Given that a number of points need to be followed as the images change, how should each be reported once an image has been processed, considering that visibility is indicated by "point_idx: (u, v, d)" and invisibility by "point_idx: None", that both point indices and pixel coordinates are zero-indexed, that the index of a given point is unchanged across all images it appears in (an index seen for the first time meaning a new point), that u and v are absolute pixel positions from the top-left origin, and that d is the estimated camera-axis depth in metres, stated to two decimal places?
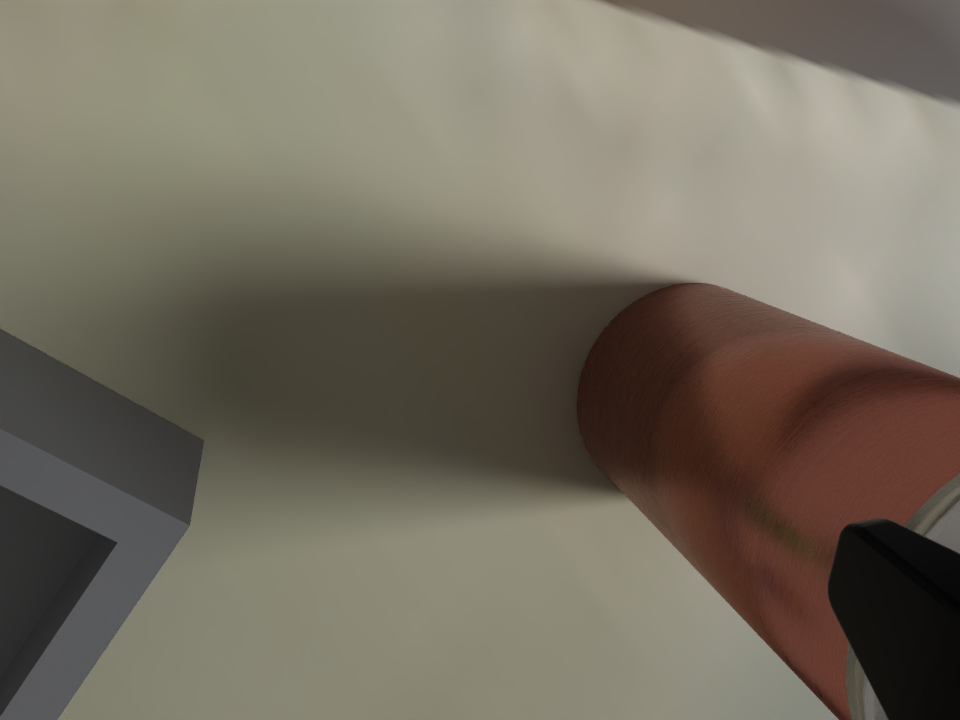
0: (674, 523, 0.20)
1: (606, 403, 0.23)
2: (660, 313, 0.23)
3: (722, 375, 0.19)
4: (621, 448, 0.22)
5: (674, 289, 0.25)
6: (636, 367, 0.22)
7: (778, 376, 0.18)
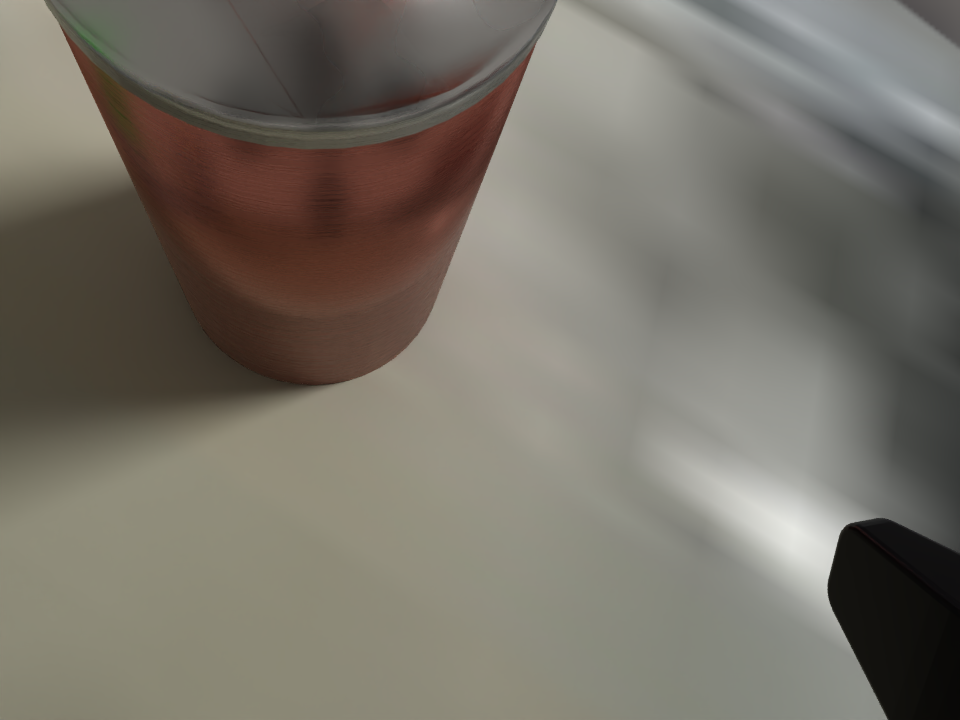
0: (163, 237, 0.16)
1: None
2: None
3: None
4: (170, 262, 0.19)
5: None
6: None
7: None
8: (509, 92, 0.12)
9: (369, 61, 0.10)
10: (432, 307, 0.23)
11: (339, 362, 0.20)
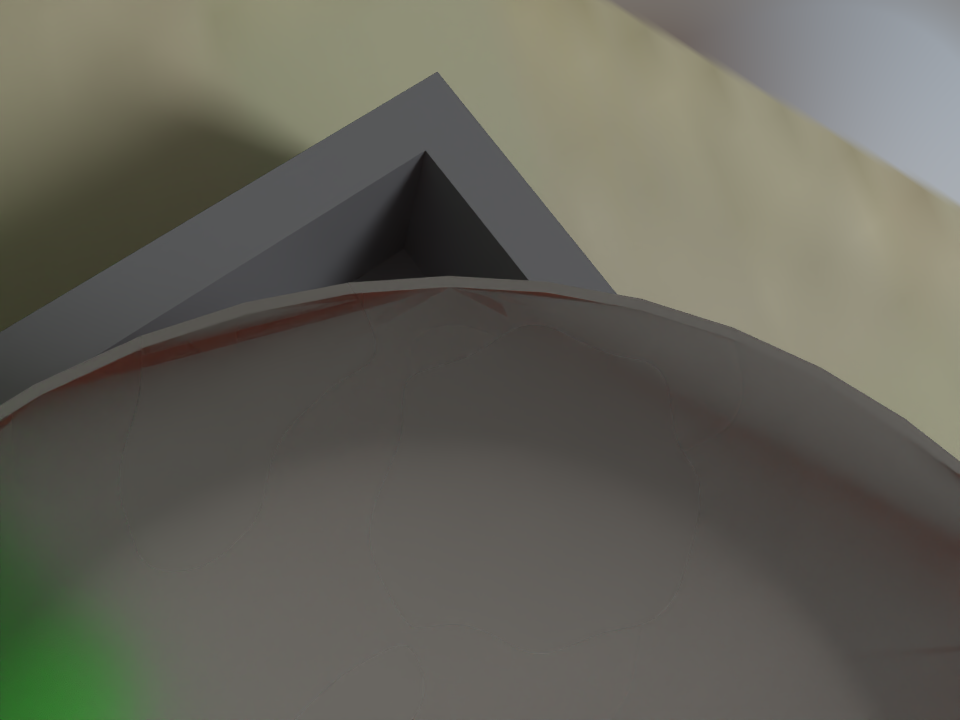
0: None
1: None
2: None
3: None
4: None
5: None
6: None
7: None
8: None
9: None
10: None
11: None
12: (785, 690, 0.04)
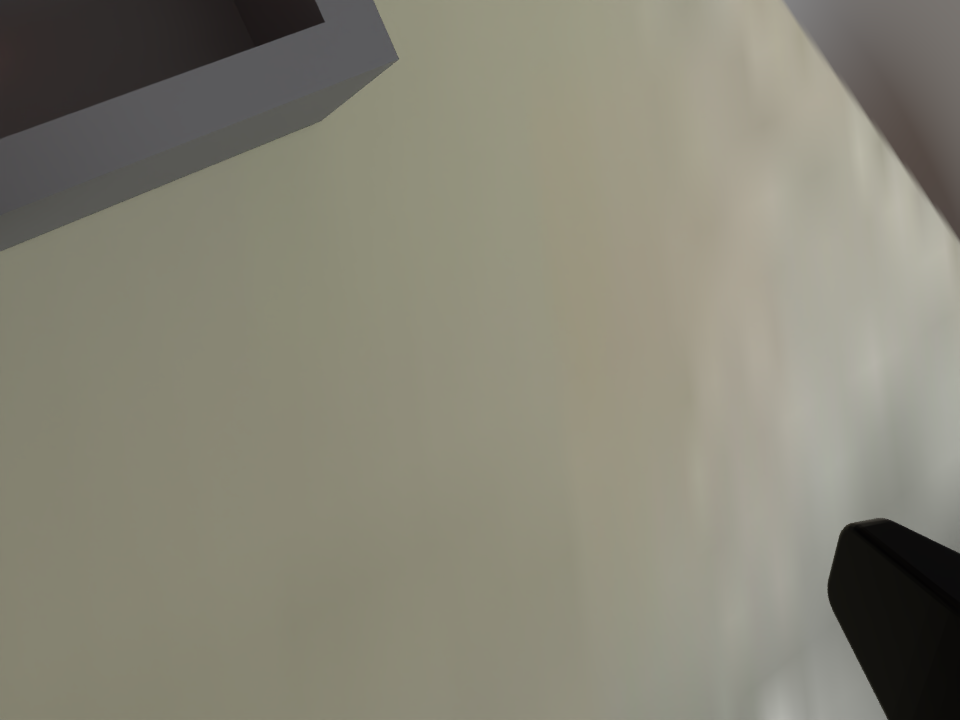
0: None
1: None
2: None
3: None
4: None
5: None
6: None
7: None
8: None
9: None
10: None
11: None
12: None
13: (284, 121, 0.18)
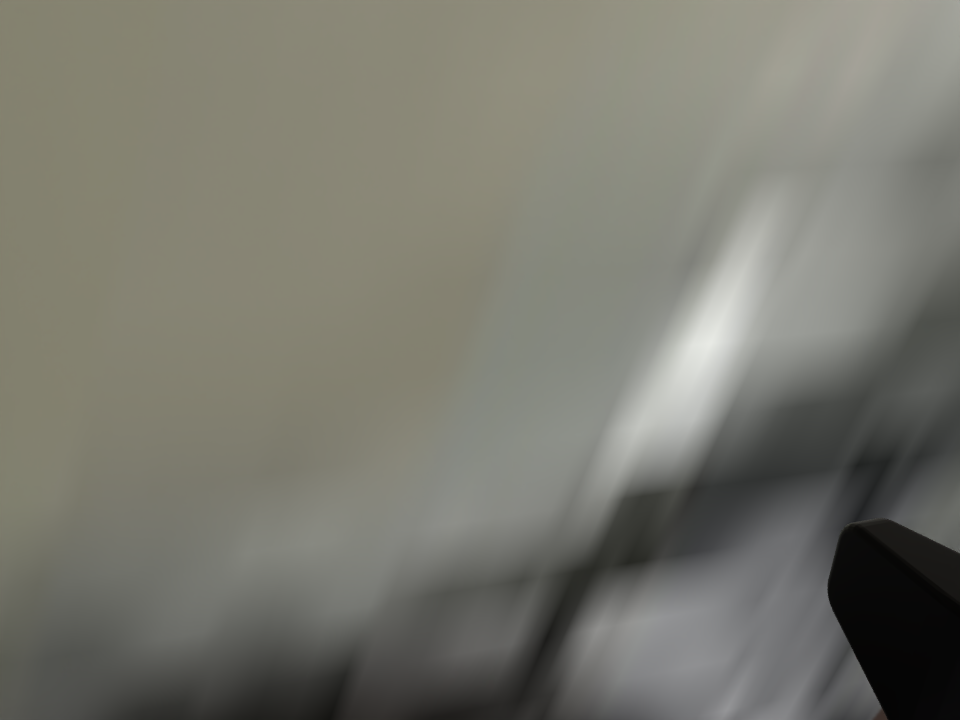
0: None
1: None
2: None
3: None
4: None
5: None
6: None
7: None
8: None
9: None
10: None
11: None
12: None
13: None
